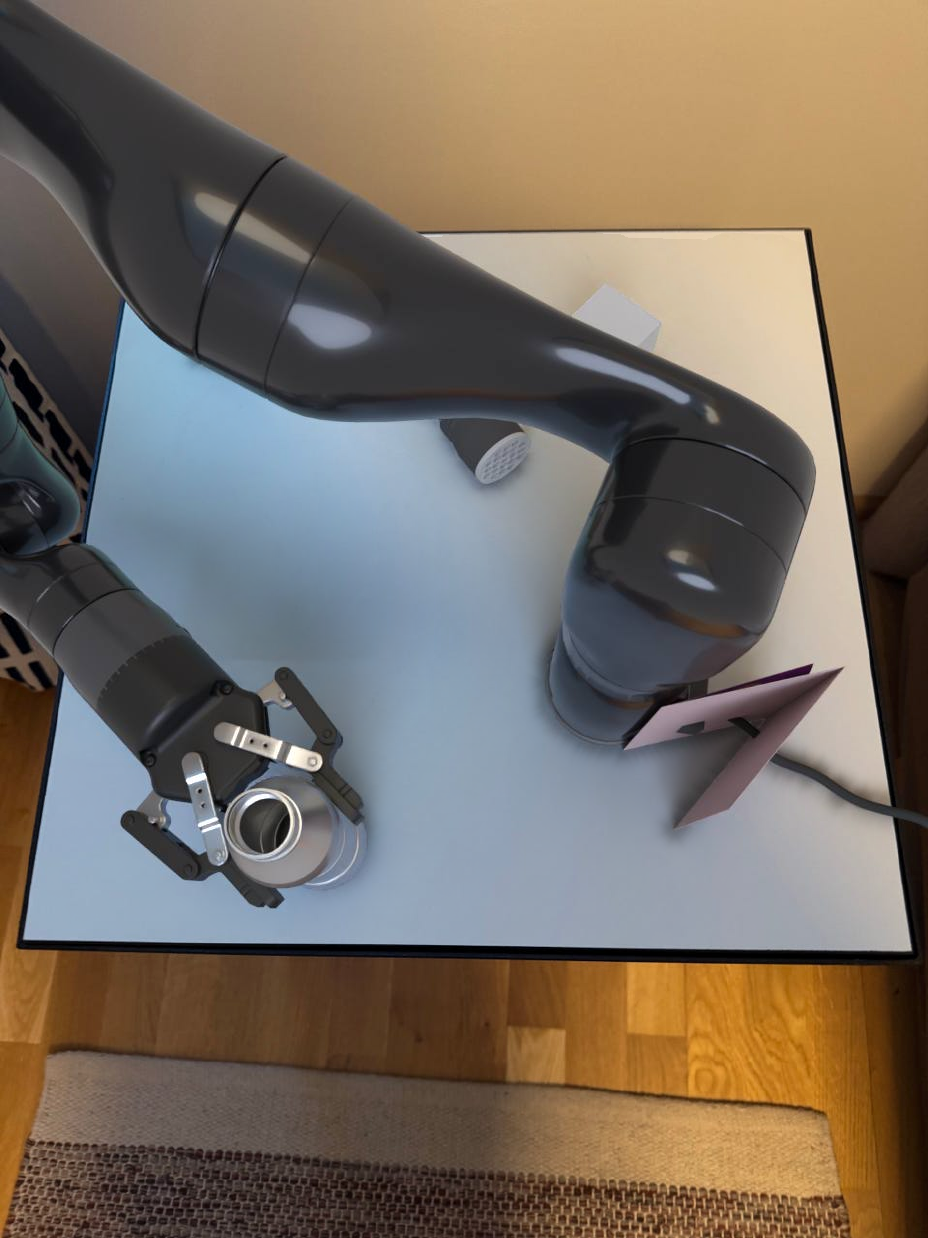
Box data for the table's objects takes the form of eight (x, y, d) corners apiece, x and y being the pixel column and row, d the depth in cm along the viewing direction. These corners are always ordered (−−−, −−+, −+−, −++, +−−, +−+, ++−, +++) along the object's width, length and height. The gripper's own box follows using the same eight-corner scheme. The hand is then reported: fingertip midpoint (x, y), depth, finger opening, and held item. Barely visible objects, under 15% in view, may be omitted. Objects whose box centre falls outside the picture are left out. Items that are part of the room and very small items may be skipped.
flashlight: (378, 370, 75) (370, 331, 70) (427, 340, 76) (423, 299, 71) (479, 493, 71) (478, 461, 66) (529, 459, 72) (532, 425, 67)
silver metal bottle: (309, 785, 64) (234, 738, 45) (388, 825, 63) (344, 794, 44) (267, 864, 62) (169, 850, 43) (347, 907, 61) (283, 912, 42)
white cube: (606, 409, 74) (615, 368, 68) (554, 370, 75) (559, 327, 69) (649, 365, 75) (662, 321, 69) (597, 328, 76) (605, 282, 70)
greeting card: (762, 707, 65) (840, 652, 50) (795, 802, 62) (886, 773, 48) (619, 739, 64) (657, 693, 50) (647, 836, 62) (694, 817, 48)
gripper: (26, 744, 49) (209, 958, 45) (211, 579, 52) (398, 766, 48) (84, 763, 56) (247, 950, 52) (244, 617, 59) (410, 783, 55)
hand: (318, 861), depth 50 cm, fingers closed on silver metal bottle, 6 cm apart
